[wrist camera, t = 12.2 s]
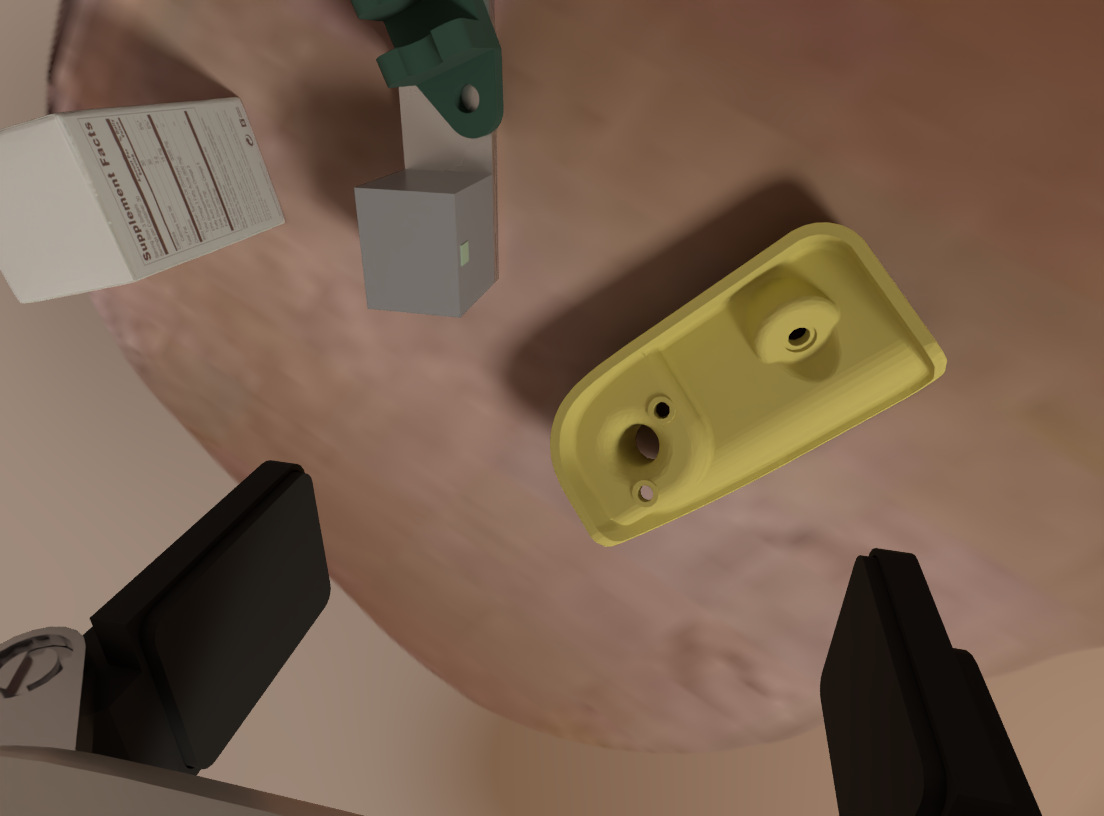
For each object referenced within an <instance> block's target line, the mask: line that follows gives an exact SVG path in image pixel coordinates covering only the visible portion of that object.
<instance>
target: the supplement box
mask: <svg viewBox="0 0 1104 816" xmlns="http://www.w3.org/2000/svg"><path fill="white" fill-rule="evenodd" d="M283 223H285V220H284V216H283V213H282V210H281V207H280V204H279V202H278V199H277V196H276V194H275V191H274V188H273V185H272V183H271V180H270V177H269V174H268V172H267V169H266V166H265V164H264V161H263V158H262V155H261V153H260V150H259V148H258V145H257V142H256V139H255V137H254V134H253V131H252V129H251V126H250V123H249V121H248V118H247V116H246V113H245V110H244V108H243V105H242V103H241V100H240V99H239V98H238V97H228V98H217V99H208V100H199V101H186V102H173V103H160V104H148V105H137V106H123V107H110V108H98V109H87V110H78V111H69V112H61V113H54V114H50V115H47V116H43V117H40V118H37V119H34V120H30V121H27V122H24V123H20V124H17V125H13V126H10V127H6V128H3V129H0V270H1V272H2V274H3V276H4V277H5V279H6V281H7V283H8V284H9V286H10V288H11V289H12V291H13V293H14V294H15V296H16V297H17V299H18V300H19V302H21V303H29V302H36V301H42V300H48V299H53V298H59V297H65V296H69V295H75V294H80V293H85V292H90V291H95V290H100V289H105V288H110V287H115V286H120V285H124V284H128V283H133V282H136V281H138V280H141V279H143V278H146V277H148V276H151V275H153V274H156V273H159V272H161V271H164V270H166V269H169V268H171V267H174V266H176V265H179V264H182V263H184V262H187V261H190V260H192V259H195V258H198V257H200V256H203V255H206V254H208V253H211V252H214V251H216V250H219V249H221V248H224V247H226V246H229V245H231V244H234V243H236V242H239V241H241V240H244V239H246V238H249V237H251V236H254V235H256V234H258V233H261V232H263V231H266V230H268V229H271V228H273V227H276V226H278V225H281V224H283Z"/></svg>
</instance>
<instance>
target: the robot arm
mask: <svg viewBox="0 0 1104 816" xmlns="http://www.w3.org/2000/svg"><path fill="white" fill-rule="evenodd" d="M330 590H331V587H330V580H329V574H328V569H327V563H326V557H325V551H324V546H323V540H322V534H321V529H320V523H319V517H318V512H317V506H316V500H315V494H314V489H313V483H312V479H311V477H310V475H308V474H306V473H305V472H304V469H303V468H302V467H301V466H300V465H298V464H293V463H286V462H279V461H272V460H270V461H266V462H264V463H262V464H261V465H260V466H259V467H258V468H257V469H256V470H255V471H253V472H252V473H251V474H250V475H249V476H248V477H247V478H246V479H245V480H243V481H242V482H241V483H240V484H239V485H238V486H237V487H236V488H234V490H232V491H231V492H230V493H229V494H228V495H227V496H226V497H224V498H223V499H222V500H221V501H220V502H219V503H218V504H217V505H215V507H213V508H212V509H211V510H210V511H209V512H208V513H207V514H205V515H204V516H203V517H202V518H201V519H200V520H199V521H198V522H197V523H195V524H194V525H193V526H192V527H191V528H190V529H189V530H188V531H186V532H185V533H184V534H183V535H182V536H181V537H180V538H179V539H177V540H176V541H175V542H174V543H173V544H172V545H171V546H170V547H169V548H167V549H166V550H165V551H164V552H163V553H162V554H161V555H160V556H158V557H157V558H156V559H155V560H154V561H153V562H152V563H151V564H150V565H148V566H147V567H146V568H145V569H144V570H143V571H142V572H141V573H139V574H138V575H137V576H136V577H135V578H134V579H133V580H132V581H131V582H129V583H128V584H127V585H126V586H125V587H124V588H123V589H122V590H121V591H119V592H118V593H117V594H116V595H115V596H114V597H113V598H112V599H110V600H109V601H108V602H107V603H106V604H105V605H104V606H103V607H102V608H100V609H99V610H98V611H97V612H96V613H95V614H94V615H93V616H91V617H90V620H91V623H92V625H93V627H92V628H90V629H89V630H88V631H87V632H86V633H85V634H84V635H83V636H82V635H81V634H80V633H79V632H78V631H77V630H74V629H71V628H67V627H46V628H41V629H36V630H32V631H29V632H27V633H23V634H21V635H18V636H15V637H13V638H11V639H9V640H7V641H5V642H4V643H2V644H0V816H363V815H359V814H354V813H351V812H346V811H343V810H339V809H334V808H330V807H326V806H321V805H318V804H313V803H309V802H305V801H301V800H297V799H292V798H288V797H284V796H279V795H275V794H271V793H267V792H263V791H258V790H254V789H250V788H246V787H242V786H238V785H233V784H229V783H225V782H221V781H216V780H212V779H208V778H204V777H200V776H196V775H197V774H198V773H199V771H200V770H201V769H206V768H208V767H209V766H211V765H212V764H213V763H214V762H215V760H216V759H217V758H218V756H219V755H220V754H221V752H222V751H223V749H224V748H225V747H226V745H227V744H228V742H229V741H230V740H231V738H232V737H233V735H234V734H235V732H236V731H237V730H238V728H239V727H240V726H241V724H242V723H243V721H244V720H245V719H246V717H247V716H248V714H249V713H250V712H251V710H252V708H253V707H254V706H255V705H256V703H257V702H258V700H259V699H260V698H261V696H262V695H263V693H264V692H265V691H266V689H267V688H268V686H269V685H270V684H271V682H272V681H273V679H274V678H275V676H276V675H277V673H278V672H279V671H280V669H281V668H282V667H283V665H284V664H285V662H286V661H287V660H288V658H289V657H290V655H291V654H292V653H293V651H294V650H295V648H296V647H297V646H298V644H299V643H300V641H301V640H302V639H303V637H304V636H305V634H306V633H307V632H308V630H309V629H310V627H311V626H312V624H313V623H314V622H315V620H316V619H317V618H318V616H319V615H320V613H321V612H322V610H323V609H324V608H325V606H326V604H327V602H328V600H329V596H330ZM820 697H821V704H822V710H823V717H824V723H825V729H826V735H827V741H828V748H829V753H830V760H831V766H832V773H833V778H834V785H835V791H836V798H837V803H838V810H839V816H1042V814H1041V812H1040V810H1039V807H1038V805H1037V803H1036V800H1035V798H1034V796H1033V793H1032V791H1031V789H1030V786H1029V784H1028V782H1027V779H1026V777H1025V775H1024V772H1023V770H1022V768H1021V765H1020V763H1019V760H1018V758H1017V756H1016V753H1015V751H1014V749H1013V746H1012V744H1011V742H1010V739H1009V737H1008V735H1007V732H1006V730H1005V728H1004V725H1003V723H1002V721H1001V718H1000V716H999V714H998V711H997V709H996V707H995V704H994V702H993V700H992V697H991V695H990V693H989V690H988V688H987V686H986V683H985V681H984V679H983V676H982V674H981V672H980V669H979V667H978V665H977V663H976V661H975V659H974V658H973V656H972V655H971V654H970V653H969V652H968V651H967V650H962V649H956V648H952V645H951V643H950V640H949V638H948V635H947V633H946V630H945V627H944V625H943V622H942V620H941V617H940V615H939V612H938V610H937V607H936V605H935V602H934V600H933V597H932V595H931V592H930V590H929V587H928V585H927V582H926V580H925V577H924V575H923V572H922V570H921V567H920V565H919V562H918V560H917V558H916V556H915V555H914V554H912V553H905V552H898V551H892V550H885V549H878V548H874V549H872V551H871V552H870V554H869V556H861V555H860V556H858V557H857V558H856V561H855V564H854V567H853V571H852V574H851V577H850V581H849V584H848V587H847V591H846V594H845V597H844V601H843V604H842V608H841V611H840V614H839V618H838V621H837V624H836V628H835V631H834V634H833V638H832V641H831V645H830V648H829V651H828V655H827V658H826V661H825V665H824V668H823V672H822V676H821V682H820Z"/></svg>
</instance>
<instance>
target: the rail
mask: <svg viewBox="0 0 1104 816" xmlns="http://www.w3.org/2000/svg"><path fill="white" fill-rule="evenodd" d="M484 3H485V6H486V8H487V11H488V14H489V16H490V19H491V22H492V25H493V27H494V0H484ZM399 98H400V111H401V124H402V137H403V149H404V162H405V169H410V170H428V171H445V172H463V173H480V174H492V177H493V227H494V277H495V282H496V281H497V280H498V279H499V277H498V220H497V162H496V130H495V131H493V132H492V133H490V134H488V135H486V136H483V137H480V138H475V139H471V138H466V137H463V136H461V135H459V134H458V133H457V132H455V131H454V129H453V128H452V127H451V126H450V125H449V124H448V123H447V121H446V120H445V119H444V118H443V117H442V115H441V114H440V113H439V112H438V111H437V110H436V108H435V107H434V106H433V105H432V104H431V103H430V101H429V100H428V99H427V98H426V97H425V96H424V94H423V93H422V92H421V91H420V90H419V89H418V87H417V86H405V87H399ZM461 98H462V102H463V104H464V106H465V107H466V108H467V109H468V110H470V111H475V110H476V109H477V107H478V105H479V94H478V92H477V90H476V89H475V88H474V87H473V86H472V85H470V84H467V85H466V86H465V87H464V88H463V90H462V94H461Z"/></svg>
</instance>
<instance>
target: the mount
mask: <svg viewBox="0 0 1104 816" xmlns="http://www.w3.org/2000/svg"><path fill="white" fill-rule="evenodd" d="M351 2H352V5H353V7H354V9H355V12H356V14H357V16H358V18H359V19H365V20H375V21H384V24H385V26H386V29H387V31H388V33H389V36H390V38H391V41H392V43H393V45H394V48H395V49H393V50H391V51H389V52H387V53H385V54H383V55H381V56H379V57H378V58H377V59H376V61H377V63H378V65H379V68H380V70H381V72H382V75H383V77H384V79H385V81H386V84H387V86H388V88H395V87H405V86H417V87H418V89H419V90H420V91H421V92H422V93H423V94H424V96H425V97H426V98H427V99H428V100H429V101H430V103H431V104H432V105H433V106H434V107H435V108H436V110H437V111H438V112H439V113H440V114H441V115H442V117H443V118H444V119H445V120H446V121H447V123H448V124H449V125H450V126H451V127H452V128H453V129H454V131H455V132H457V133H458V134H459V135H461V136H463V137H466V138H471V139H475V138H480V137H483V136H486V135H488V134H490V133H492V132H493V131H495V130H496V129H497V127H498V126H499V124H500V123H501V120H502V117H503V84H502V56H501V47H500V44H499V41H498V38H497V36H496V33H495V30H494V27H493V25H492V22H491V19H490V16H489V14H488V11H487V8H486V6H485V3H484V0H351ZM467 84H470V85H472V86H473V87H474V88H475V89H476V90H477V92H478V94H479V105H478V107H477V109H476V110H475V111H470V110H468V109H467V108H466V107H465V106H464V104H463V102H462V98H461V94H462V90H463V88H464V87H465V86H466V85H467Z"/></svg>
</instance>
